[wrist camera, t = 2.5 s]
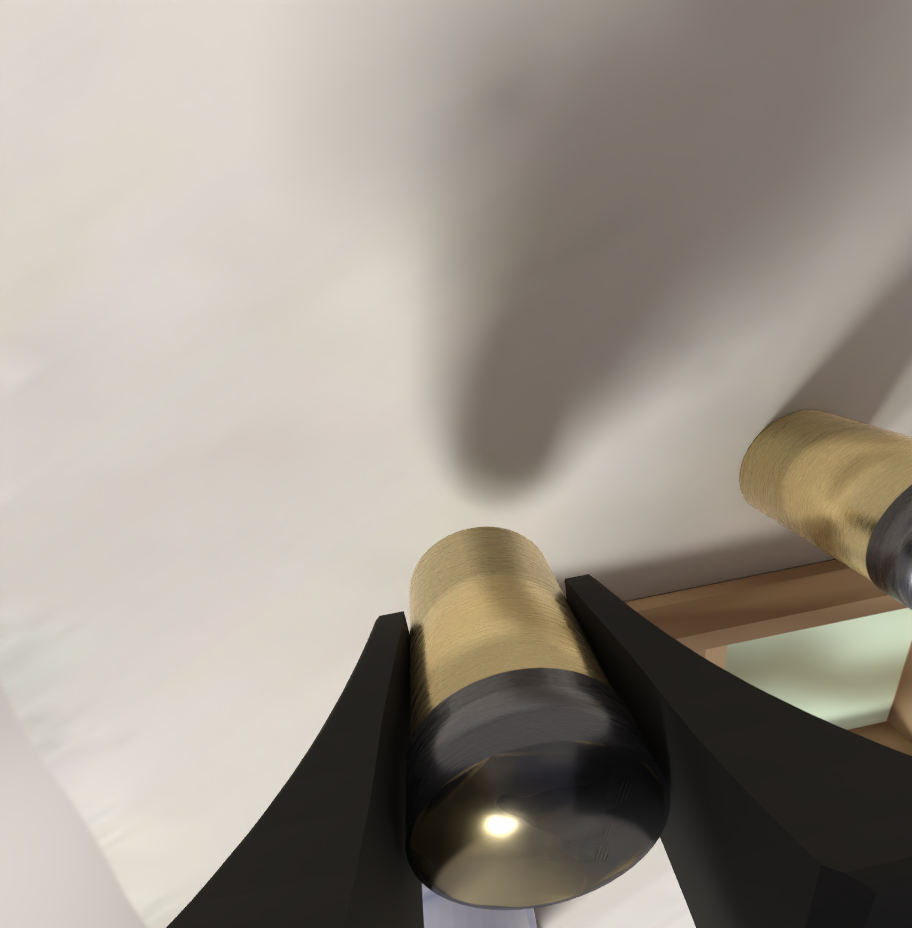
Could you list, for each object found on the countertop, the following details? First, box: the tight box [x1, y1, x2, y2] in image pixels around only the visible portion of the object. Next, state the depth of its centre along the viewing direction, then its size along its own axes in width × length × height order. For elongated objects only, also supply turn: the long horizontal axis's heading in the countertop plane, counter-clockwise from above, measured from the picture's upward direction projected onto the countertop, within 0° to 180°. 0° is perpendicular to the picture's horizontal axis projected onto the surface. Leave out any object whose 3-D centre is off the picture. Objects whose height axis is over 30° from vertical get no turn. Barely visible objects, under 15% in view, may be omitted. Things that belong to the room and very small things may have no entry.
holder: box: [625, 559, 912, 756], centre depth 18 cm, size 11×22×2 cm, turn 99°
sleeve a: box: [405, 527, 671, 910], centre depth 10 cm, size 4×4×6 cm
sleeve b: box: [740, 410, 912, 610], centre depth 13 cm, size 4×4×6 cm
